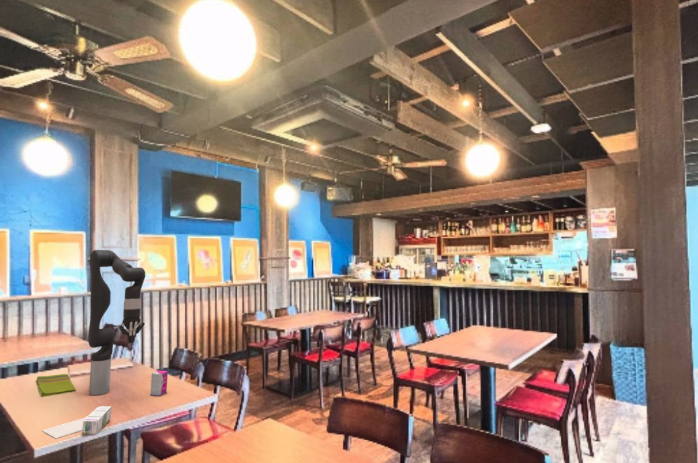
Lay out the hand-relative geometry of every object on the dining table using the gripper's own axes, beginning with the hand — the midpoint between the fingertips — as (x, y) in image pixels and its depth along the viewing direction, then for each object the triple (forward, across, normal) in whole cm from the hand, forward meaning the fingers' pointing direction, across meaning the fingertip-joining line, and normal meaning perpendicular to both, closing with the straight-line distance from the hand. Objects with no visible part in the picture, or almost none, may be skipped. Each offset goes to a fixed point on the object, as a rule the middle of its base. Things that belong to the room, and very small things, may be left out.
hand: (130, 343), depth 201 cm
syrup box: (+26, +17, +13) cm, 33 cm away
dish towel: (+30, +8, -60) cm, 67 cm away
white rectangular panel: (+29, +28, +10) cm, 42 cm away
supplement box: (+29, -16, 0) cm, 33 cm away
